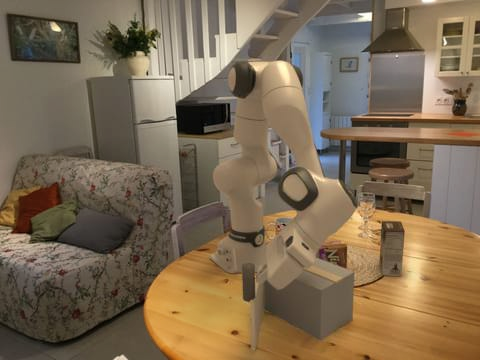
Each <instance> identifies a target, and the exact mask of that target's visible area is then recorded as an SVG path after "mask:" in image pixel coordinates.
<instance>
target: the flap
mask: <svg viewBox="0 0 480 360" xmlns="http://www.w3.org/2000/svg"><path fill="white" fill-rule="evenodd" d="M261 267H262V266H260V268H259V270H260V269H261ZM241 275H242V277H241V280H242V284H241V285H242V287H241V288H242V300H243V301H244V302H246V303H247V302H248V303H249V314H250V315H249V318H250V320H249V321H250V350H251V351H256V349H257V344H258V339H259V335H260V331H261V325H262V321H263V315H264V311H265V310H264V282H263V283H262V284H258V283H257V282H256V272H255V265H254V264H252V263H245V264H243V265H242V273H241Z"/></svg>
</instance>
